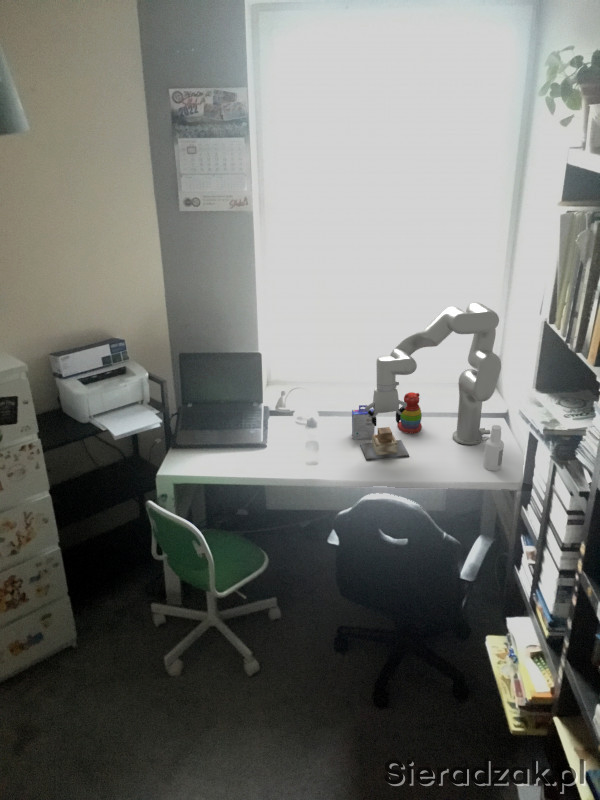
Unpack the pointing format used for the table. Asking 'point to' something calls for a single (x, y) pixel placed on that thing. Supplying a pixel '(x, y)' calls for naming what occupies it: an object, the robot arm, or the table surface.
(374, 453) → the build base
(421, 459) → the table surface
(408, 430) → the stacking bear
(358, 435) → the ink cartridge box
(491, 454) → the spray bottle
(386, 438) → the walnut block
